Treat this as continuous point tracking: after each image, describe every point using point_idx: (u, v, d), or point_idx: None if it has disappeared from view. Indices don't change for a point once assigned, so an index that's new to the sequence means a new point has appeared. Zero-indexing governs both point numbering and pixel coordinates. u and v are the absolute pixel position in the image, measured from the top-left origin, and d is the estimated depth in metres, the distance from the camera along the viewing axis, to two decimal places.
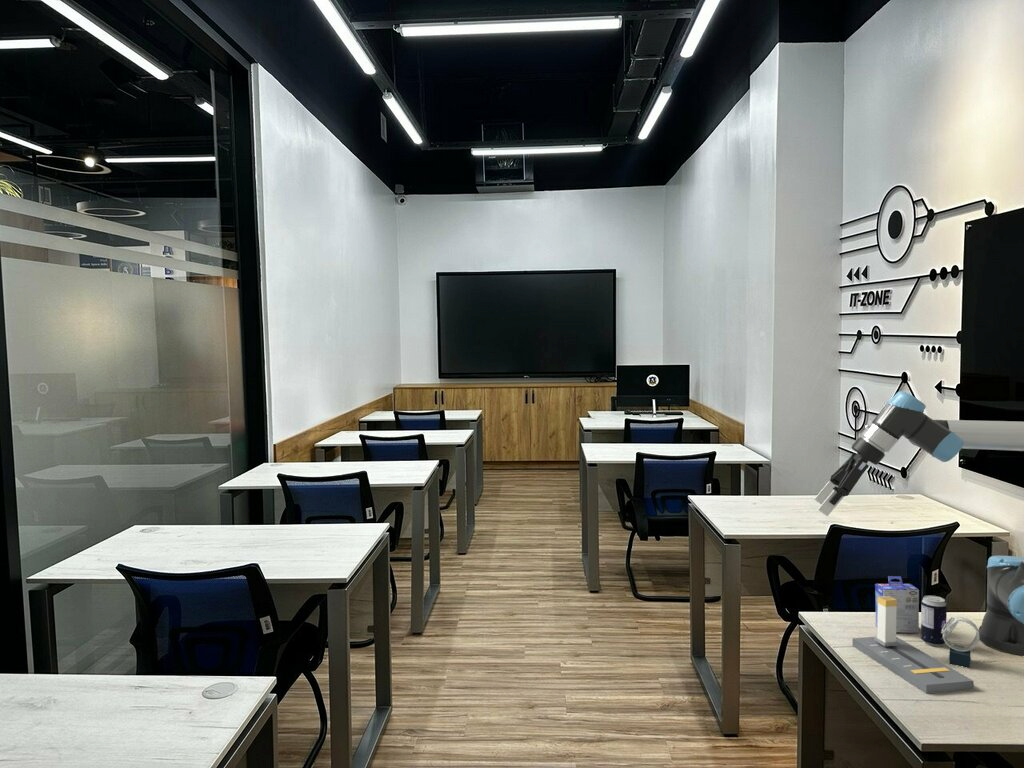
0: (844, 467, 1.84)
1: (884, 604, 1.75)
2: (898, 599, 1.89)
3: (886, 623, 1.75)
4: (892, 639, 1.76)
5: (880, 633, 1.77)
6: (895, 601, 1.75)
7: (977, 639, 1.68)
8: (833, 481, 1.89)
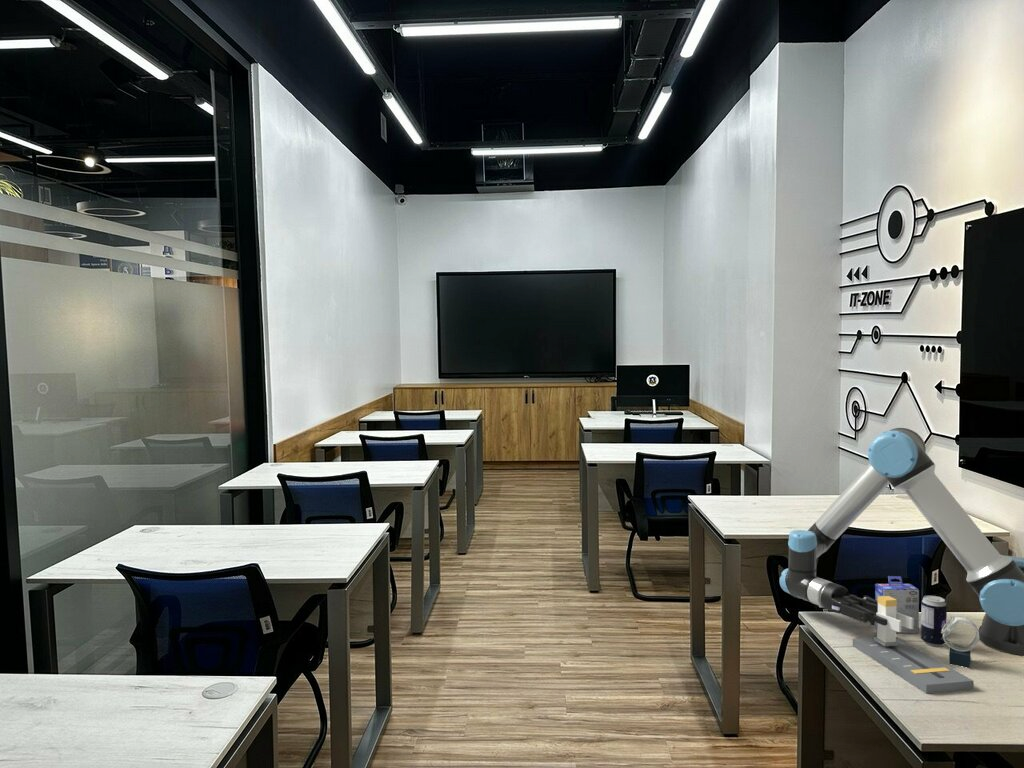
0: None
1: (884, 604, 1.75)
2: (898, 599, 1.89)
3: None
4: (892, 639, 1.76)
5: (880, 633, 1.77)
6: (895, 601, 1.75)
7: (977, 639, 1.68)
8: None
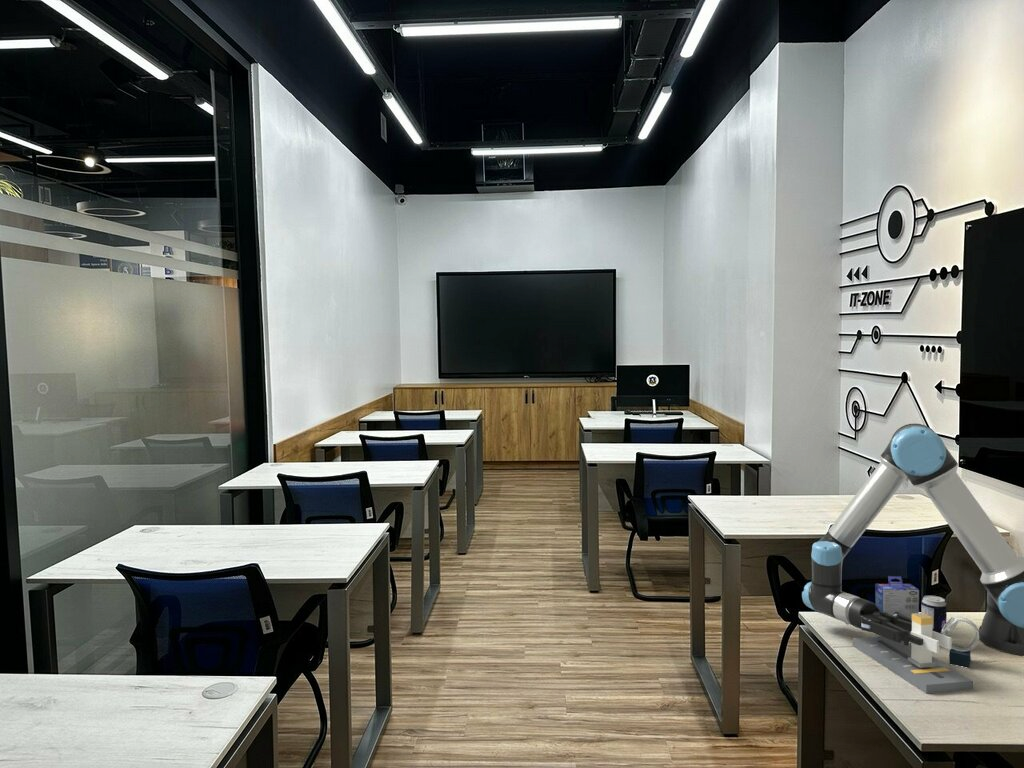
0: None
1: (919, 622, 1.63)
2: (898, 599, 1.89)
3: None
4: (928, 660, 1.64)
5: (915, 653, 1.65)
6: (931, 619, 1.63)
7: (977, 639, 1.68)
8: None
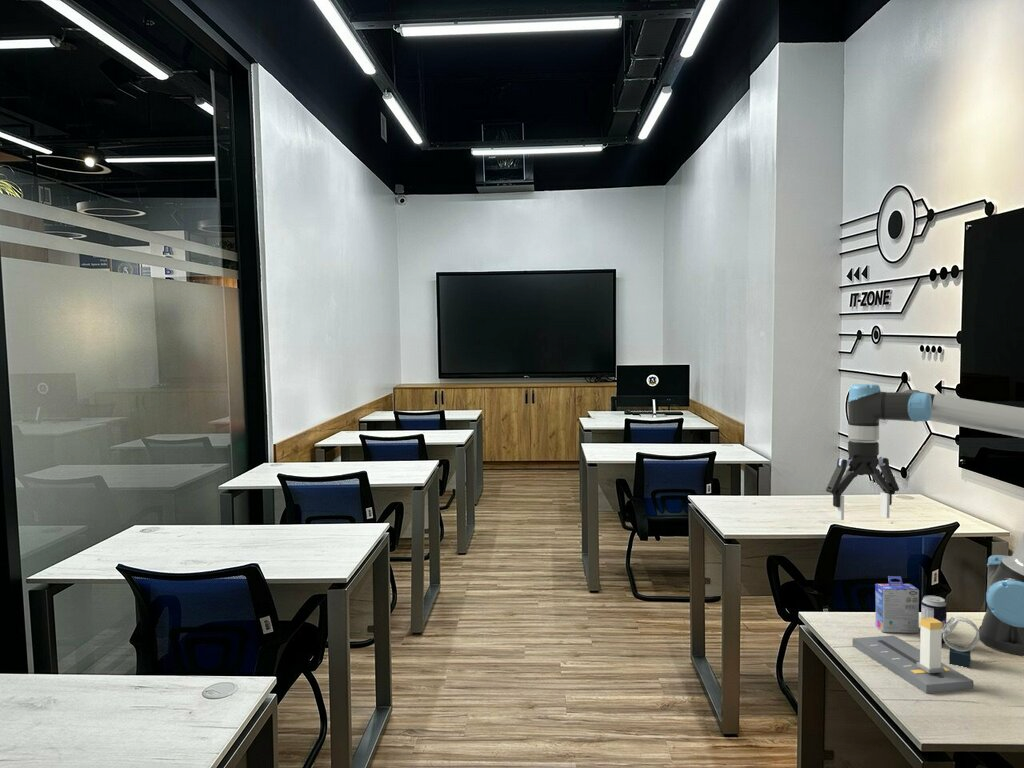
0: None
1: (928, 627, 1.60)
2: (898, 599, 1.89)
3: (931, 648, 1.60)
4: (937, 665, 1.61)
5: (923, 658, 1.62)
6: (940, 624, 1.60)
7: (977, 639, 1.68)
8: (885, 491, 1.90)
